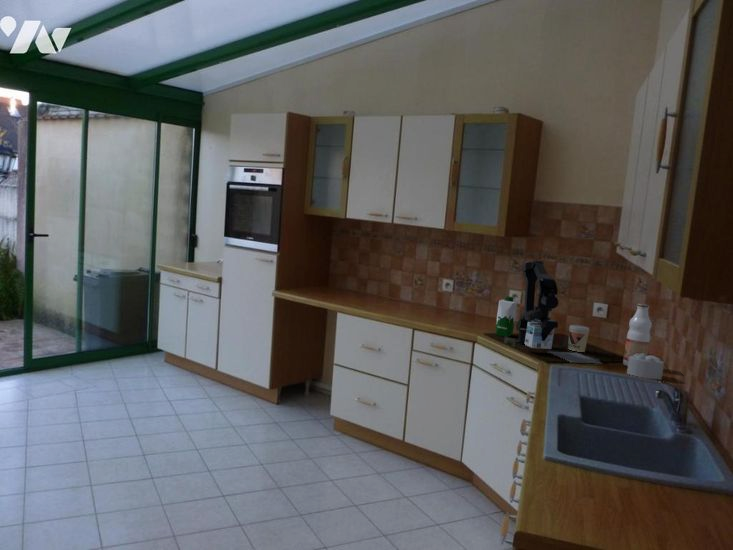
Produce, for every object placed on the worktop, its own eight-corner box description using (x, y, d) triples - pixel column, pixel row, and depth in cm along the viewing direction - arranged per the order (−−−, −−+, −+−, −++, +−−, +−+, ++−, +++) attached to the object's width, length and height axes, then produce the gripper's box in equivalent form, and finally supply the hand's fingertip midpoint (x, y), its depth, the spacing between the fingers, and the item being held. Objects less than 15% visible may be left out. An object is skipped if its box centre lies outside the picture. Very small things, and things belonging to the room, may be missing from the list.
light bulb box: (531, 348, 274) (534, 324, 273) (523, 344, 280) (526, 321, 279) (552, 349, 277) (555, 325, 276) (544, 345, 283) (547, 322, 282)
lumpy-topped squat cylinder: (664, 380, 250) (667, 359, 250) (632, 377, 250) (635, 356, 250) (652, 374, 261) (655, 354, 260) (622, 370, 261) (625, 350, 260)
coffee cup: (562, 349, 295) (566, 325, 294) (571, 348, 302) (574, 324, 300) (580, 354, 288) (584, 329, 287) (589, 352, 295) (593, 328, 294)
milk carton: (514, 335, 319) (519, 298, 317) (509, 337, 311) (514, 299, 309) (497, 332, 323) (502, 295, 321) (492, 334, 315) (497, 296, 313)
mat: (548, 352, 283) (548, 351, 283) (577, 354, 287) (577, 353, 287) (570, 362, 265) (571, 361, 265) (602, 364, 270) (602, 362, 270)
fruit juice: (634, 368, 267) (644, 305, 265) (618, 363, 276) (627, 302, 273) (650, 368, 271) (659, 306, 268) (633, 363, 280) (642, 303, 277)
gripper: (517, 300, 283) (513, 333, 285) (539, 307, 266) (534, 343, 267) (538, 302, 286) (534, 335, 288) (561, 309, 269) (556, 344, 270)
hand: (538, 339), depth 278 cm, fingers closed on light bulb box, 7 cm apart
